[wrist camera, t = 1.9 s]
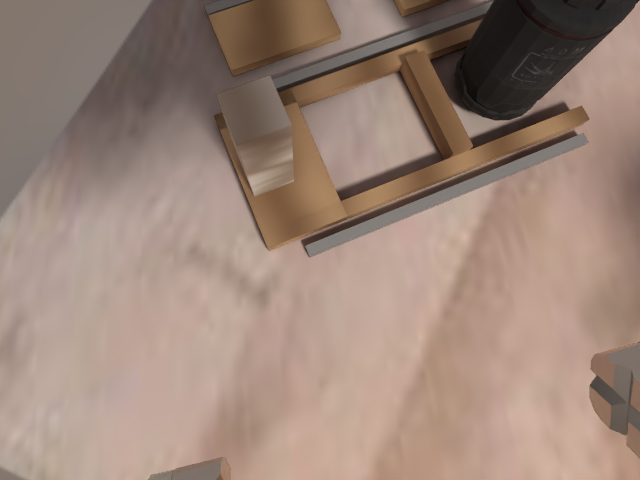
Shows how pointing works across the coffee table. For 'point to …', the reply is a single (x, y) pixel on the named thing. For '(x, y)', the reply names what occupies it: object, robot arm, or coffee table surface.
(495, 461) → the coffee table surface
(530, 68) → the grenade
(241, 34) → the broken strip
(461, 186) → the lane rails
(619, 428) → the robot arm
